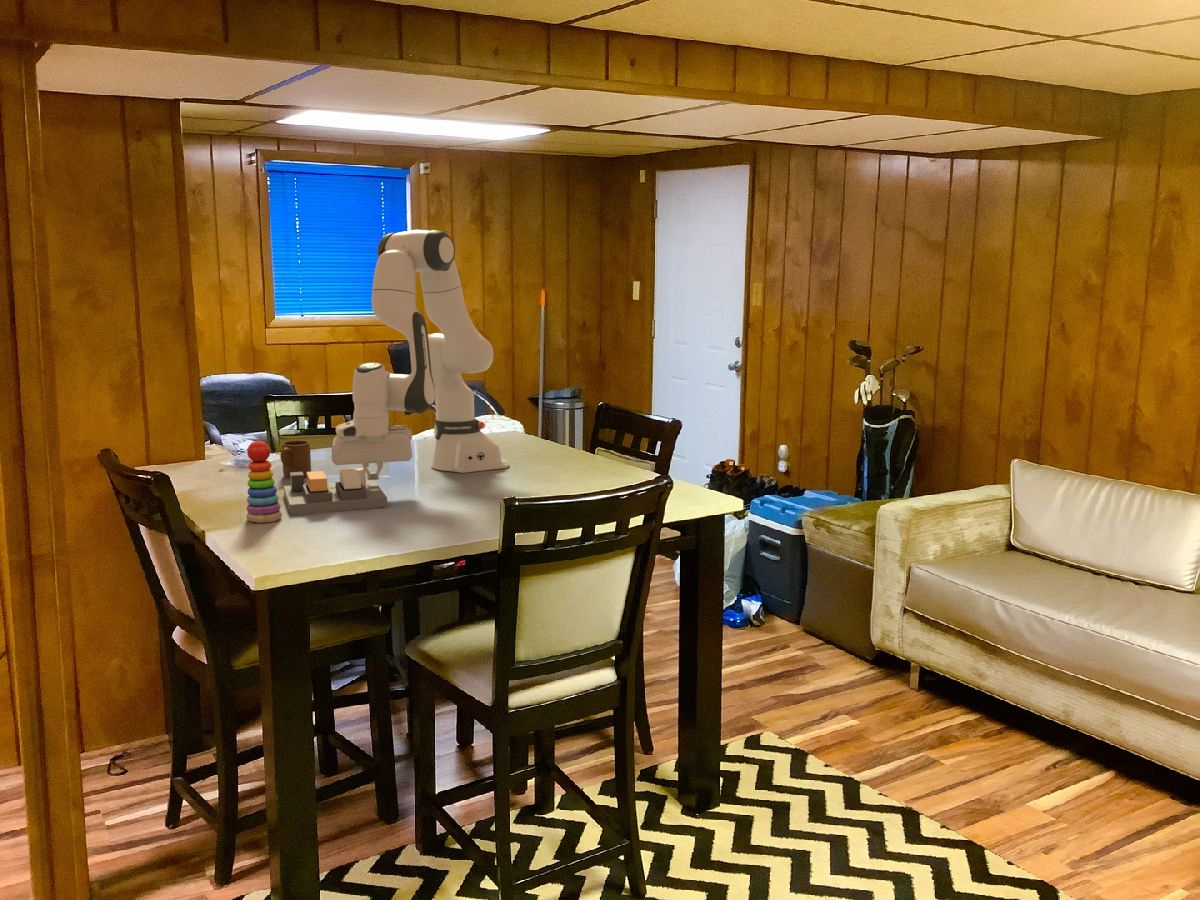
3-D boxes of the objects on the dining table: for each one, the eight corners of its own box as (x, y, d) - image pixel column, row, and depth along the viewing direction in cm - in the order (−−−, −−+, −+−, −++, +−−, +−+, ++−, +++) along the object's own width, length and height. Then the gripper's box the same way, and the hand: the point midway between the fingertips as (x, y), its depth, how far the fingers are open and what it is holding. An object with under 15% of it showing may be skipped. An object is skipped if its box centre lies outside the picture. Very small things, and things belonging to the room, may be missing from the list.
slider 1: (303, 486, 259) (302, 471, 258) (304, 490, 255) (303, 474, 254) (290, 487, 257) (290, 472, 257) (292, 491, 254) (291, 475, 253)
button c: (323, 482, 254) (323, 470, 253) (327, 490, 246) (327, 478, 245) (307, 483, 252) (306, 471, 252) (310, 491, 244) (309, 479, 244)
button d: (356, 480, 257) (355, 468, 256) (361, 488, 248) (360, 476, 248) (339, 481, 255) (339, 469, 255) (344, 489, 247) (343, 477, 246)
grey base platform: (374, 489, 269) (373, 471, 268) (387, 507, 250) (386, 488, 249) (284, 495, 261) (283, 477, 260) (290, 514, 242) (289, 495, 241)
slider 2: (363, 482, 264) (363, 467, 263) (366, 486, 260) (365, 470, 259) (352, 483, 263) (351, 468, 262) (354, 486, 259) (353, 471, 258)
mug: (296, 482, 276) (294, 448, 274) (270, 481, 277) (268, 447, 275) (316, 473, 287) (314, 441, 286) (291, 472, 289) (289, 440, 287)
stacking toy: (274, 513, 243) (270, 436, 239) (287, 520, 237) (283, 441, 233) (241, 518, 238) (237, 440, 235) (253, 525, 232) (249, 445, 228)
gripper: (409, 423, 266) (410, 474, 269) (329, 426, 259) (331, 479, 262) (414, 426, 261) (415, 479, 263) (332, 430, 253) (334, 484, 256)
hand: (373, 479), depth 262 cm, fingers closed
